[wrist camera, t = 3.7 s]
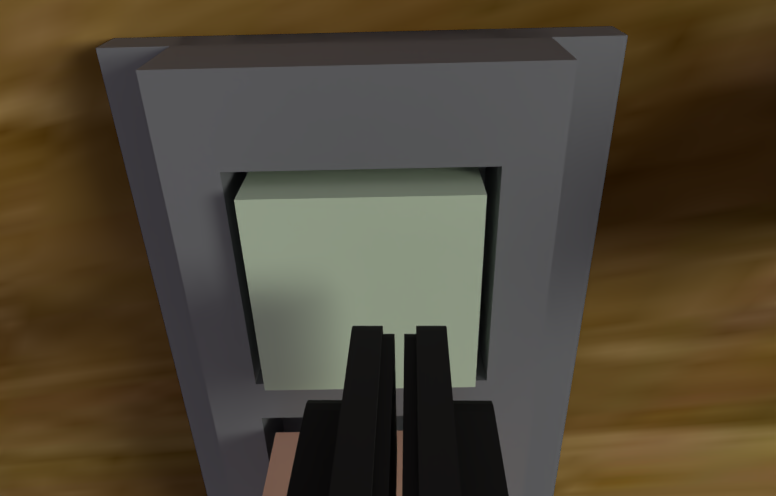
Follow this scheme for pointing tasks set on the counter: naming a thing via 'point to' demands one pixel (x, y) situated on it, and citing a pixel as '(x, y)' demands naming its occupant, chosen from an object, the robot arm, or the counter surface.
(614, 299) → the counter surface
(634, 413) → the counter surface
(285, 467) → the key
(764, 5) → the counter surface
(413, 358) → the robot arm
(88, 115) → the counter surface
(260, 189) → the key
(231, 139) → the keypad housing
